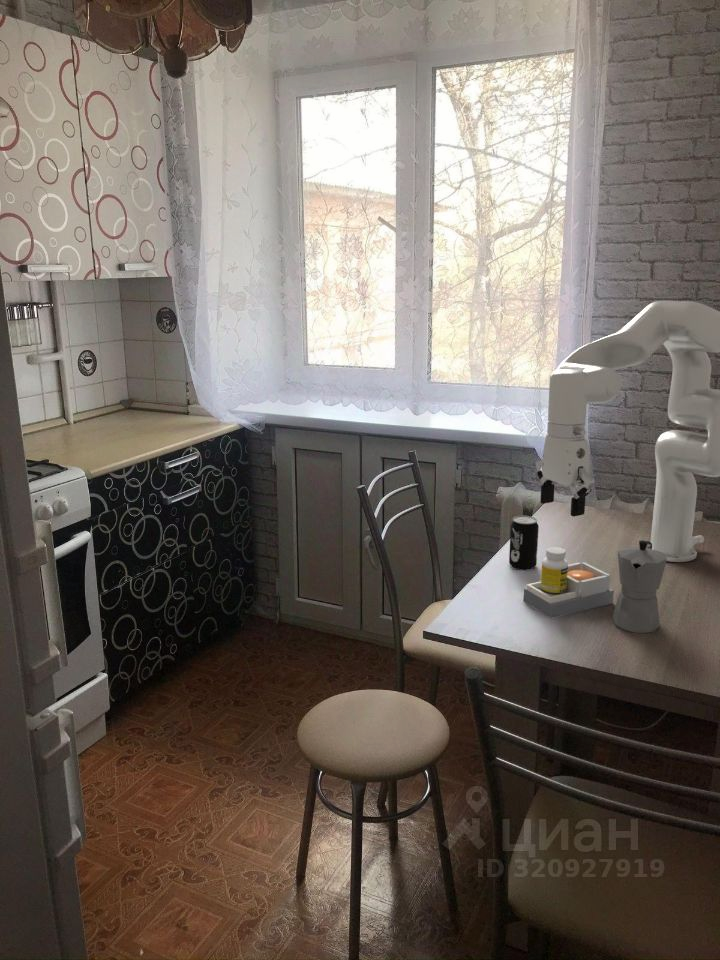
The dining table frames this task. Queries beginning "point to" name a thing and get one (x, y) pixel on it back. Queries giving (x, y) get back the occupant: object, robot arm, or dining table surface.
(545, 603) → the grey divided storage tray
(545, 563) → the supplement bottle
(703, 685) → the dining table surface
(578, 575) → the orange rounded capsule
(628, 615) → the coffeepot
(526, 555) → the beverage can
